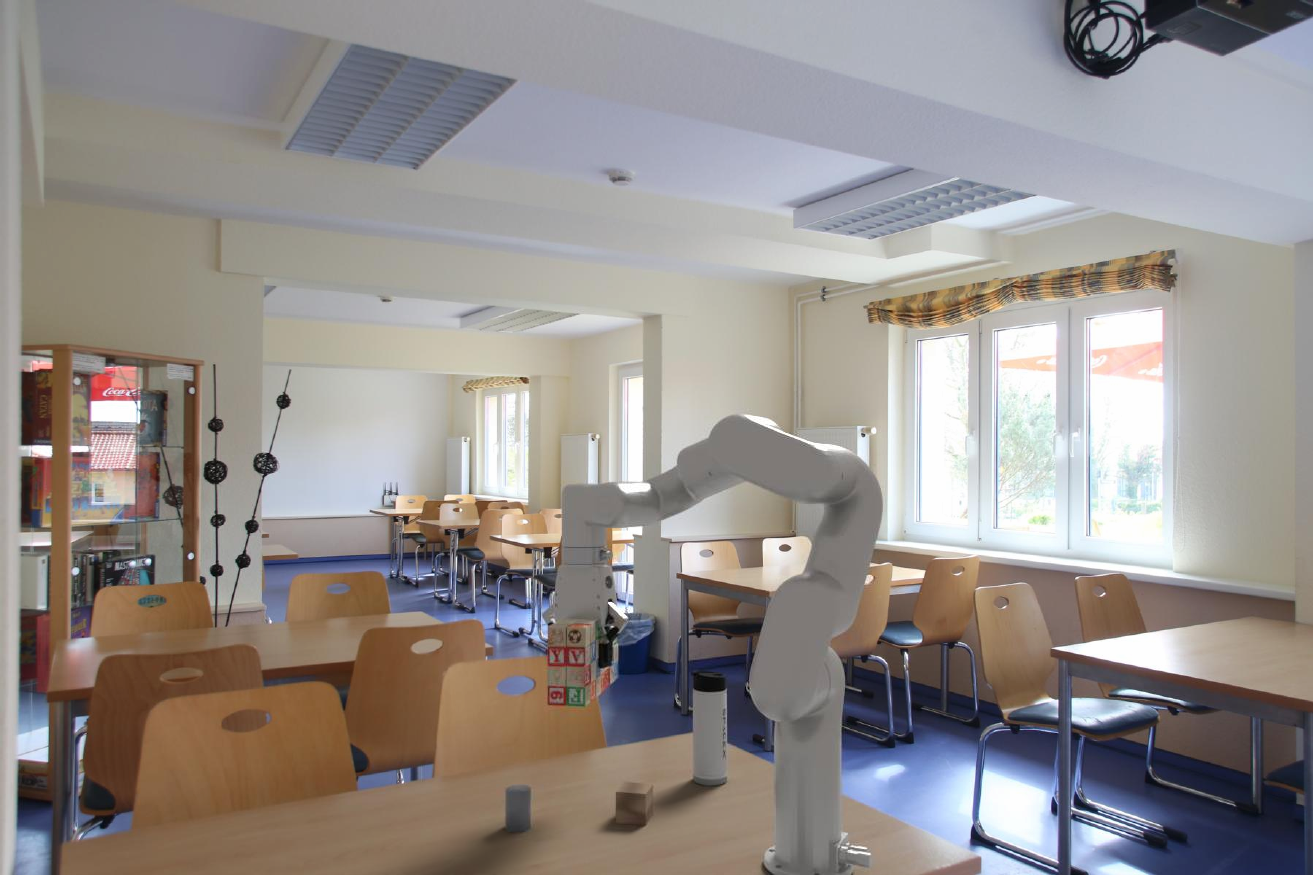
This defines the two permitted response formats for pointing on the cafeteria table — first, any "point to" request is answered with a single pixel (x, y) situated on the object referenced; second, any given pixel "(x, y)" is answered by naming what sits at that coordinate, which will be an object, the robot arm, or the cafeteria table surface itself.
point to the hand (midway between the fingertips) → (584, 664)
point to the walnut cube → (634, 803)
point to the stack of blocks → (577, 663)
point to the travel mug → (709, 728)
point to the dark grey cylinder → (518, 808)
